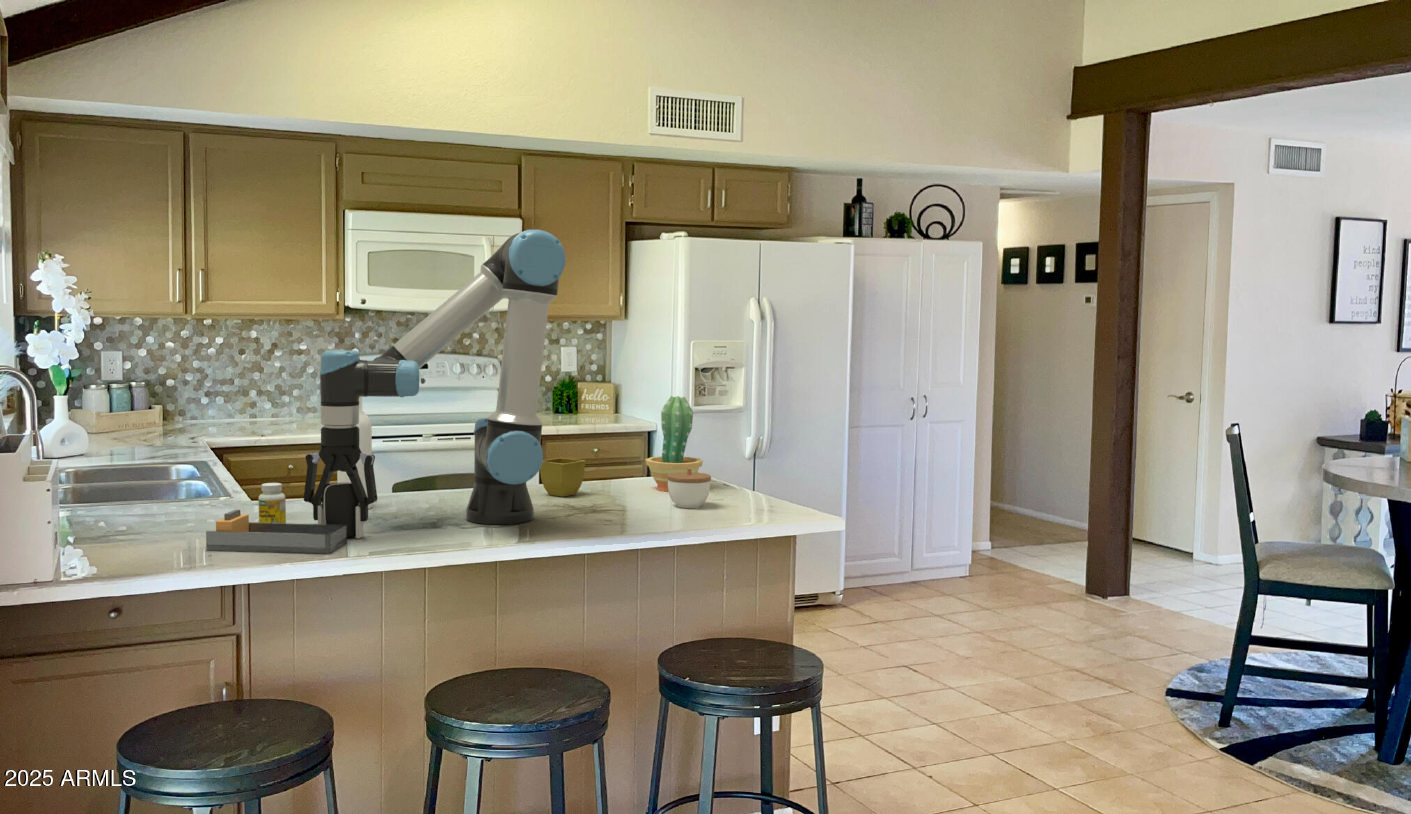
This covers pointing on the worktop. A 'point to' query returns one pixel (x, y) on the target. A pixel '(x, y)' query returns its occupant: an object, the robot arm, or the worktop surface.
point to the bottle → (364, 446)
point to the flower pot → (562, 476)
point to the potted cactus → (673, 442)
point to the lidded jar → (688, 488)
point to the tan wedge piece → (233, 522)
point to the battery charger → (340, 506)
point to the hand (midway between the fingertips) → (340, 536)
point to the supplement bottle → (272, 504)
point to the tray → (280, 538)
